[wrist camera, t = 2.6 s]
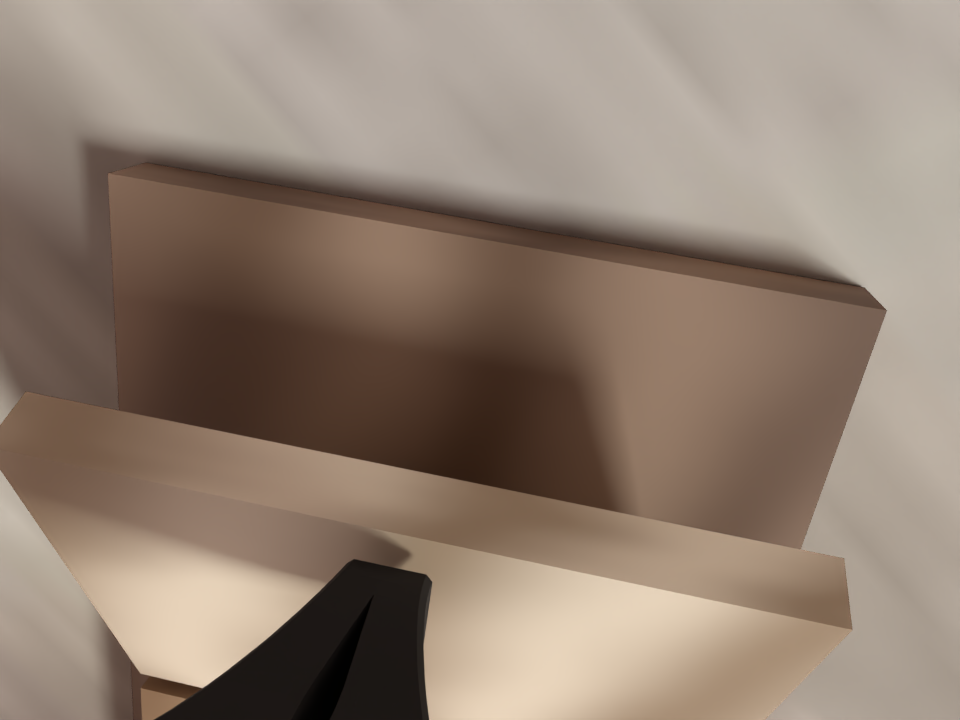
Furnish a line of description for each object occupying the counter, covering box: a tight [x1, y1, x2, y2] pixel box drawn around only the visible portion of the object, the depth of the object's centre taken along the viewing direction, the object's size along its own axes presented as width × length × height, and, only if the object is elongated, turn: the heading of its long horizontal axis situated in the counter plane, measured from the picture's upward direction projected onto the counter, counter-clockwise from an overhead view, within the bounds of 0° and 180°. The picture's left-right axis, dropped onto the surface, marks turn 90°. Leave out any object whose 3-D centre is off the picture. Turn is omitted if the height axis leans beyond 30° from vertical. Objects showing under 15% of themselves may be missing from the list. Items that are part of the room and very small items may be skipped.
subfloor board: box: [108, 163, 887, 720], centre depth 20 cm, size 16×20×3 cm
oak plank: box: [0, 392, 852, 720], centre depth 17 cm, size 14×10×1 cm
